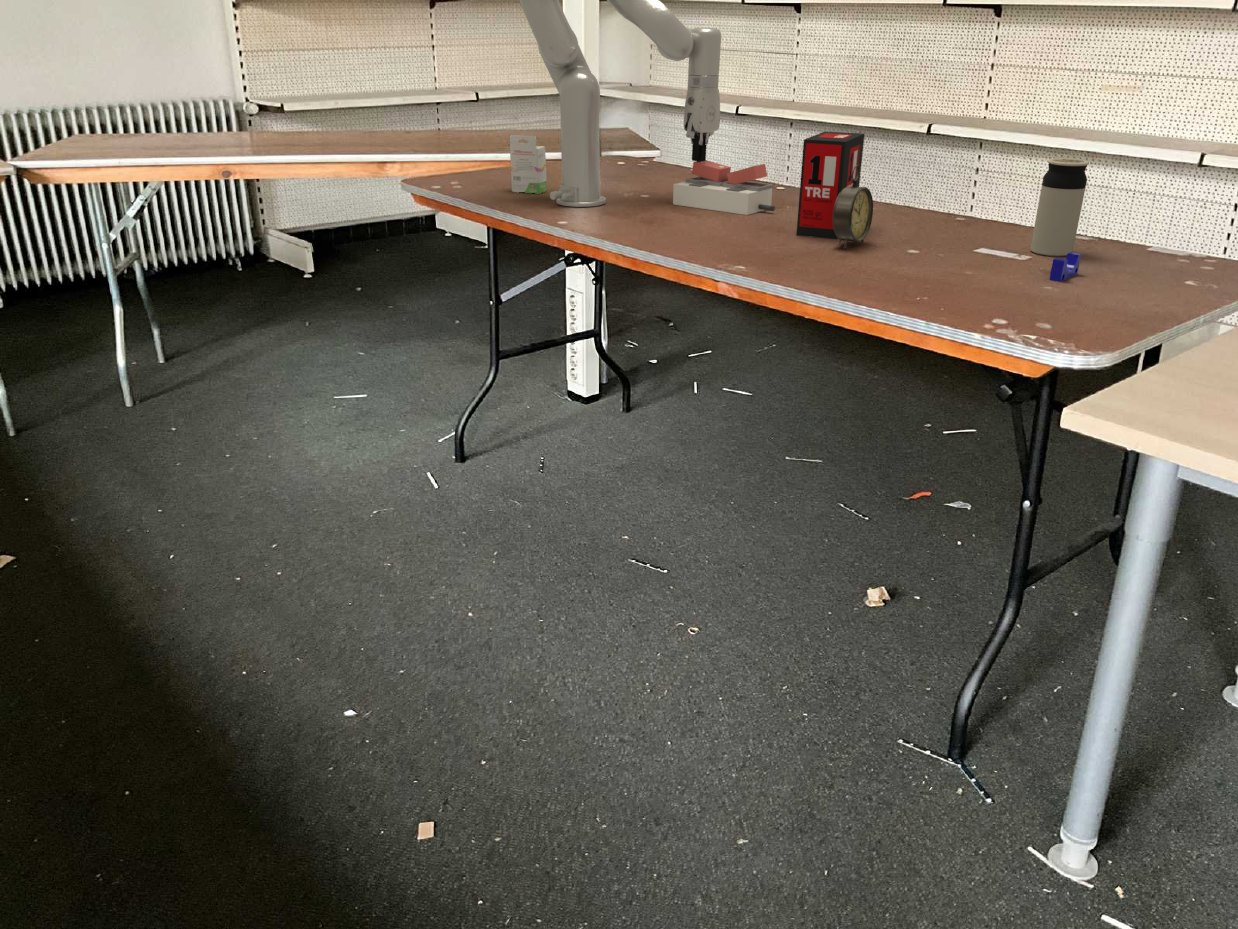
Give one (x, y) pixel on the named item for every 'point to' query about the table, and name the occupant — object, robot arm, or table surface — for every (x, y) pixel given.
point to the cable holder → (1065, 267)
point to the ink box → (527, 165)
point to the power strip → (723, 195)
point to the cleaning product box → (826, 179)
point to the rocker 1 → (711, 170)
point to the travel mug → (1059, 207)
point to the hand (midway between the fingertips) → (698, 160)
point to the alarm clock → (853, 213)
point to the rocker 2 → (747, 174)
